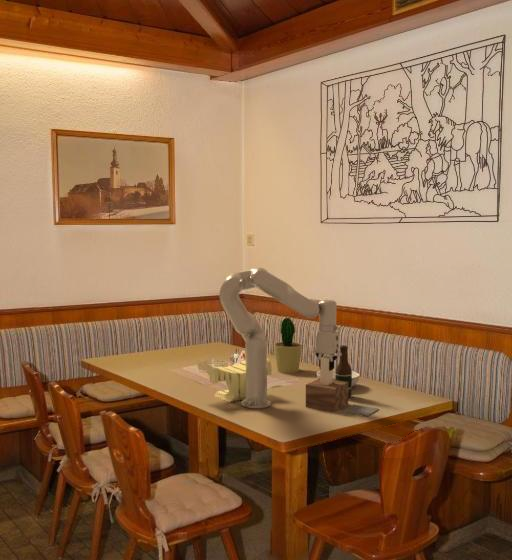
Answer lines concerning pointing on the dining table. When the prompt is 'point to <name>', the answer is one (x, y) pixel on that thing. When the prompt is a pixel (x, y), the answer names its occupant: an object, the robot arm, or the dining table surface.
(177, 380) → the dining table surface
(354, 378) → the serving bowl
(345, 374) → the beer bottle
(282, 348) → the potted cactus
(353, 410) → the rubber mat
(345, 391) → the wooden square ring
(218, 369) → the slatted curved stool
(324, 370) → the square peg
